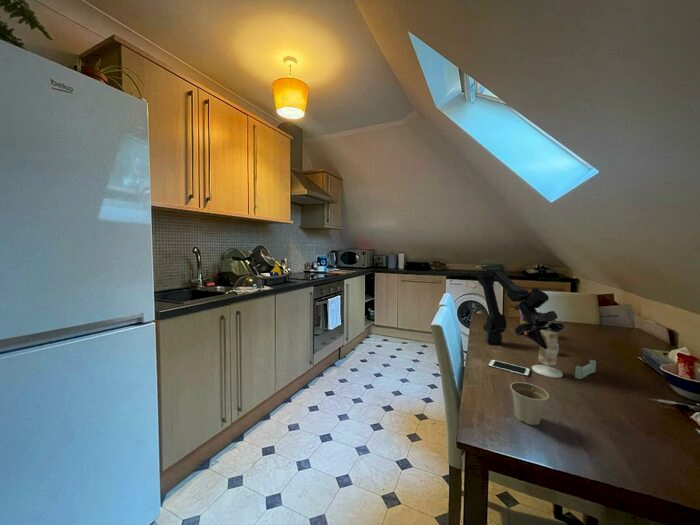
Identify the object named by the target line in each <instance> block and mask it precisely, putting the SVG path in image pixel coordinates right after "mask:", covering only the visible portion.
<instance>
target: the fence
mask: <svg viewBox="0 0 700 525" xmlns="http://www.w3.org/2000/svg"><path fill="white" fill-rule="evenodd" d="M596 367H597V361H596V360H593V359H589V363H588V364H586V365H583V366H580V365H576V366H575V370H574V371H575V372H574V378H575V379H578V380H582V379H583V378H585V377H588V376H589V374H590V375H591V373H592V374H594V373H596ZM587 375H588V376H587Z"/></svg>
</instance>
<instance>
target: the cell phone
mask: <svg viewBox="0 0 700 525" xmlns="http://www.w3.org/2000/svg"><path fill="white" fill-rule="evenodd" d="M487 367H488V368H492V369H496V370H499V371H502V372H507V373H511V374H514V375H518V376H522V377H527V378H529V377H530V375H531V370H532V369H531V368H529V367H525V366H521V365H516V364H513V363H509V362H506V361H502V360H501V361H500V360H497V359H492V358H491V359H490V360H489V362H488V364H487Z"/></svg>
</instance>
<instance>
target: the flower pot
mask: <svg viewBox="0 0 700 525" xmlns="http://www.w3.org/2000/svg"><path fill="white" fill-rule="evenodd" d="M509 388H510V390H511V393H512V399H513V407H514V415H515V417H516V418H517V419H518V420H519V421H520V422H524V423H525V424H526V425H531V426H537V425H539V424H540V423H541V420H542V417H543V413H544V408H545V405H546V403H547V400H549V398H550V396H549V395H550V394H549V393H548V392H547V391H546V390H545V389H543V388H541V387H540V386H537V385H535V384H532V383H528V382H523V381H522V382H521V381H520V382H519V381H516V382H513V383H511V384H510V385H509Z"/></svg>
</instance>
